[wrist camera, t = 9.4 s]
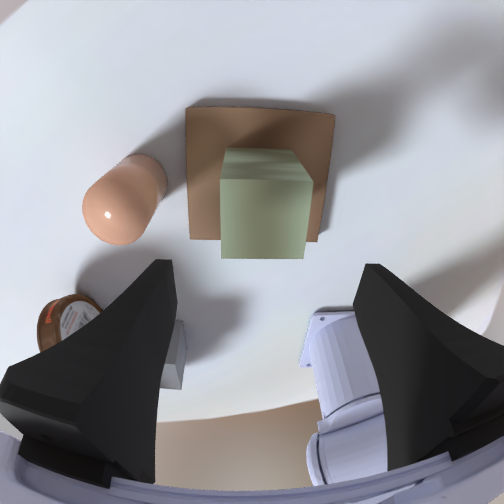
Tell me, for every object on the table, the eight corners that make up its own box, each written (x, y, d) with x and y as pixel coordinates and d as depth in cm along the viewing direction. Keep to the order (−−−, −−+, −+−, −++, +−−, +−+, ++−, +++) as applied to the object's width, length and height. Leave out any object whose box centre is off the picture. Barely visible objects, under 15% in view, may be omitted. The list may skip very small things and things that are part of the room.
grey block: (182, 320, 26) (175, 364, 22) (186, 348, 28) (181, 389, 24) (141, 317, 26) (128, 360, 22) (148, 345, 28) (139, 385, 24)
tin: (58, 281, 24) (18, 348, 17) (79, 272, 23) (38, 343, 16) (143, 376, 31) (130, 438, 24) (165, 372, 31) (154, 438, 24)
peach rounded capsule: (165, 152, 18) (143, 177, 14) (169, 208, 20) (151, 245, 16) (110, 156, 18) (76, 181, 14) (117, 208, 20) (90, 244, 16)
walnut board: (331, 114, 17) (335, 115, 16) (314, 236, 22) (317, 242, 21) (187, 107, 17) (185, 108, 16) (191, 233, 21) (189, 239, 21)
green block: (291, 149, 18) (313, 181, 13) (286, 208, 20) (303, 258, 15) (226, 147, 17) (219, 179, 12) (225, 207, 20) (221, 258, 15)
